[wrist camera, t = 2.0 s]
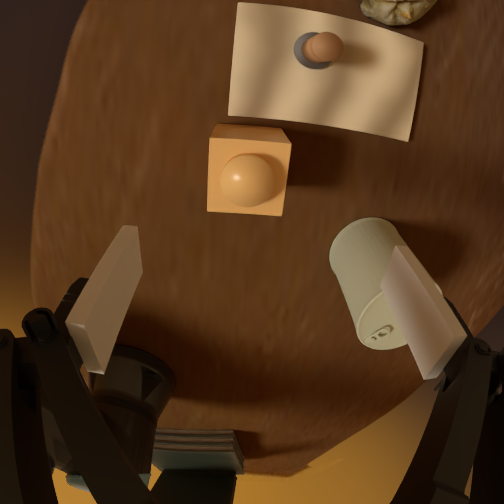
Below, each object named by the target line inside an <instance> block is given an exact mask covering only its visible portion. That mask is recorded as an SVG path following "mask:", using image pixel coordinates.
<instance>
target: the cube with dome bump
mask: <svg viewBox="0 0 504 504" xmlns="http://www.w3.org/2000/svg"><path fill="white" fill-rule="evenodd" d="M290 152H291V142H290V141H289V139H288V138H287V136H286V135H285V133H284V132H283V131H282V129H281V128H274V127H264V126H251V125H237V124H219V123H217V125H216V127H215V129H214V131H213V133H212V135H211V136H210V143H209V167H208V198H207V211H211V212H229V213H245V214H260V215H274V216H282V211H283V203H284V196H285V189H286V182H287V175H288V167H289V160H290Z"/></svg>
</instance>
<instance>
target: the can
mask: <svg viewBox="0 0 504 504" xmlns="http://www.w3.org/2000/svg"><path fill="white" fill-rule="evenodd" d="M395 245H399V246H407V244H406V243H405V242H404V241H403V239H402V238H401V237H400V235H399V233H398V231H397V230H396V228H395V227H394V226H393V225H392V224H391V223H390V222H388V221H386V220H384V219H381V218H377V217H367V218H362V219H359V220H356V221H354V222H352V223H350V224H349V225H347V226H346V227H345V228H344V229H343V230H342V231H340V233H339V234H338V235H337V236H336V238H335V239H334V241H333V243H332V246H331V249H330V256H329V259H330V265H331V267H332V270H333V271H334V273H335V274H336V276H337V279H338V281H339V283H340V286H341V288H342V291H343V294H344V296H345V299H346V302H347V304H348V307H349V310H350V313H351V315H352V318H353V321H354V324H355V327H356V332H357V336H358V338H359V340H360V341H361V342H362V343H363V344H364V345H366V346H367V347H370V348H373V349H378V350H386V349H393V348H397V347H400V346H403V345H405V344H407V341H406V338H405V336H404V334H403V332H402V330H401V328H400V326H399V324H398V321H397V319H396V317H395V315H394V313H393V311H392V309H391V307H390V305H389V303H388V301H387V299H386V297H385V295H384V293H383V291H382V289H381V287H380V285H381V282H382V280H383V277H384V275H385V272H386V269H387V267H388V264H389V262H390V259H391V256H392V253H393V251H394V248H395ZM407 247H408V246H407ZM408 248H409V247H408ZM409 250H410V248H409ZM410 251H411V250H410ZM411 252H412V251H411ZM412 254H413V252H412ZM413 255H414V254H413ZM414 256H415V255H414ZM415 258H416V256H415ZM416 259H417V258H416ZM417 260H418V259H417ZM418 262H419V260H418ZM419 263H420V262H419ZM420 264H421V263H420ZM421 266H422V267H423V265H422V264H421ZM423 269H424V270H425V271H426V269H425V268H424V267H423ZM426 273H427V274H428V276H429V277H430V278H431V276H430V275H429V273H428V272H427V271H426ZM431 280H432V281H433V283H434V284H435V286H436V287H437V289H438V290H439V292H440V293H441V295H442V291H441V289H440V287H439V286H438V284H437V283H435V281H434V280H433V279H432V278H431ZM442 296H443V295H442Z"/></svg>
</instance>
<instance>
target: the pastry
mask: <svg viewBox="0 0 504 504" xmlns="http://www.w3.org/2000/svg"><path fill="white" fill-rule="evenodd" d="M361 1H362V3H361V4H360V8H361V10H362V13H363V14H364V15H365V16H366V17H369V18H372V19H373V20H376V21H378V22H381V23H383V24H386V25H390V26H394V25H403V24H404V25H407V24H410V23H412V22H414V21H416V20H418V19H419V18H421V17H422V16H423V15H424V14H425V13H427V12H428V11H429V9H430V8H431V7H432V6H433V5H434V4H435V3H436V2H437V0H361Z"/></svg>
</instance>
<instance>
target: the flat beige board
mask: <svg viewBox="0 0 504 504" xmlns="http://www.w3.org/2000/svg"><path fill="white" fill-rule="evenodd" d="M423 45H424V43H423V42H421V41H418V40H415V39H413V38H410V37H407V36H405V35H402V34H399V33H396V32H393V31H390V30H387V29H384V28H381V27H377V26H374V25H370V24H367V23H363V22H360V21H356V20H352V19H348V18H344V17H340V16H335V15H330V14H326V13H321V12H315V11H310V10H304V9H298V8H291V7H284V6H276V5H266V4H255V3H240V2H238V8H237V18H236V28H235V38H234V49H233V60H232V72H231V84H230V97H229V110H228V115H229V116H245V117H258V118H269V119H279V120H288V121H297V122H305V123H312V124H319V125H326V126H332V127H338V128H344V129H350V130H355V131H361V132H366V133H371V134H376V135H380V136H385V137H390V138H394V139H398V140H403V141H407V142H408V140H409V135H410V131H411V125H412V120H413V115H414V109H415V104H416V98H417V91H418V85H419V78H420V71H421V63H422V54H423Z"/></svg>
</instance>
